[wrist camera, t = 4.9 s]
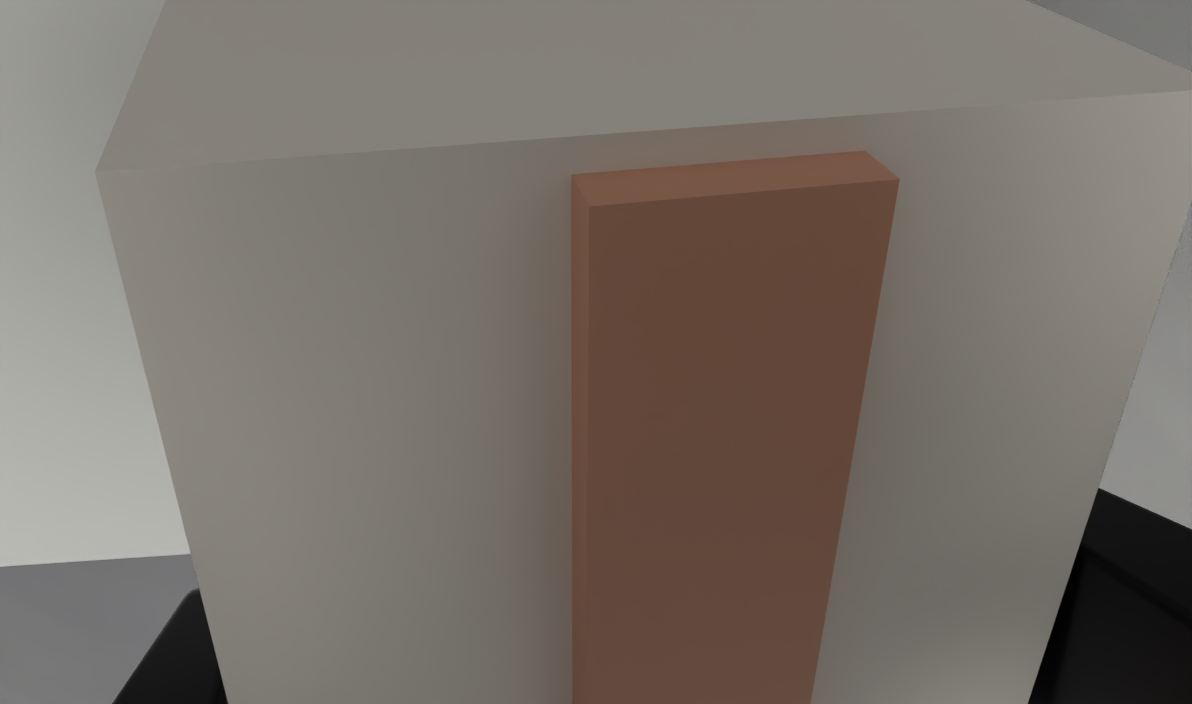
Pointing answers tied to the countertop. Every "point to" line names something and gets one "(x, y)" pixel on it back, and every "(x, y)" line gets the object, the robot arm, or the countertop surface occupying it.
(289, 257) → the card box
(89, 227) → the mat
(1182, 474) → the countertop surface
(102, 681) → the countertop surface
